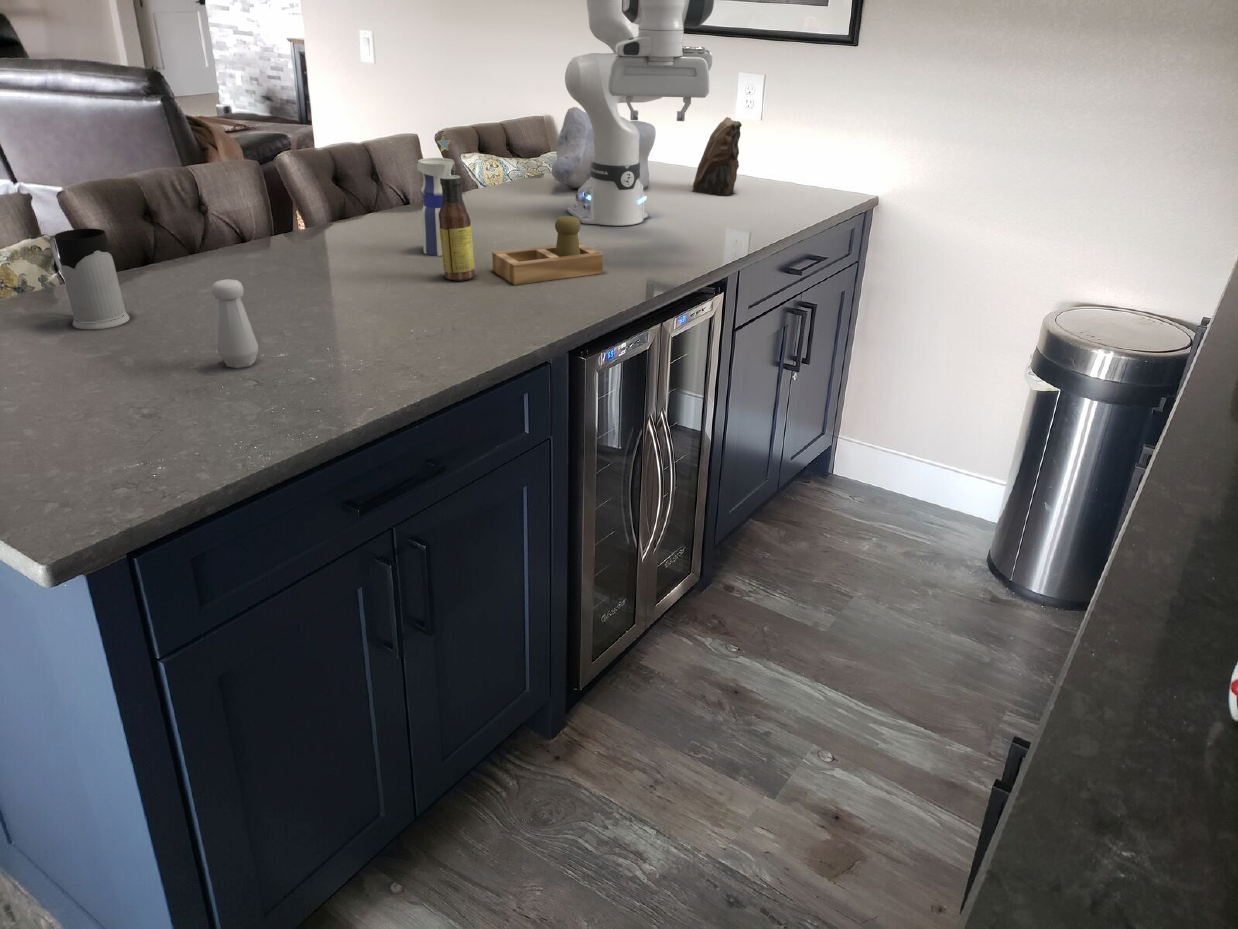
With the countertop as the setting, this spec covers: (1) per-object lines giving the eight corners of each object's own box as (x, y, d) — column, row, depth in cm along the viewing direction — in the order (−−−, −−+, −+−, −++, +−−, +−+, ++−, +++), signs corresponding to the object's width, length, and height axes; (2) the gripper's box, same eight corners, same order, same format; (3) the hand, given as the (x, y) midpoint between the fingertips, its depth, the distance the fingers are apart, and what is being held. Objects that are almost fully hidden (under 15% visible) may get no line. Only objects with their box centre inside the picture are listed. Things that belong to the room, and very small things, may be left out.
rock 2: (718, 185, 280) (723, 115, 270) (751, 192, 272) (757, 120, 262) (690, 190, 272) (694, 118, 262) (723, 198, 264) (728, 123, 255)
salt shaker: (227, 356, 146) (212, 275, 140) (264, 356, 147) (251, 275, 141) (216, 370, 141) (200, 286, 135) (254, 369, 142) (240, 286, 136)
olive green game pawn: (578, 274, 192) (578, 220, 187) (550, 272, 193) (549, 218, 188) (585, 266, 197) (585, 214, 192) (557, 264, 198) (557, 212, 193)
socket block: (492, 271, 193) (492, 251, 191) (578, 260, 201) (578, 242, 200) (514, 285, 184) (513, 265, 182) (602, 273, 193) (603, 254, 191)
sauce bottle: (480, 275, 190) (475, 175, 180) (466, 283, 184) (460, 180, 175) (451, 271, 191) (445, 172, 182) (436, 279, 186) (429, 177, 177)
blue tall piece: (468, 249, 208) (462, 131, 196) (446, 257, 201) (439, 136, 189) (438, 244, 211) (430, 128, 199) (415, 252, 204) (406, 133, 192)
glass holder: (91, 332, 154) (69, 243, 147) (44, 316, 161) (20, 230, 154) (140, 319, 161) (120, 232, 154) (92, 304, 167) (71, 220, 161)
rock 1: (547, 210, 266) (547, 155, 283) (650, 220, 271) (644, 165, 287) (556, 140, 248) (555, 86, 265) (665, 153, 253) (658, 98, 270)
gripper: (710, 46, 185) (706, 119, 192) (608, 43, 184) (607, 117, 191) (715, 48, 180) (710, 123, 186) (609, 45, 179) (608, 121, 185)
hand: (657, 120), depth 188 cm, fingers open, 8 cm apart
